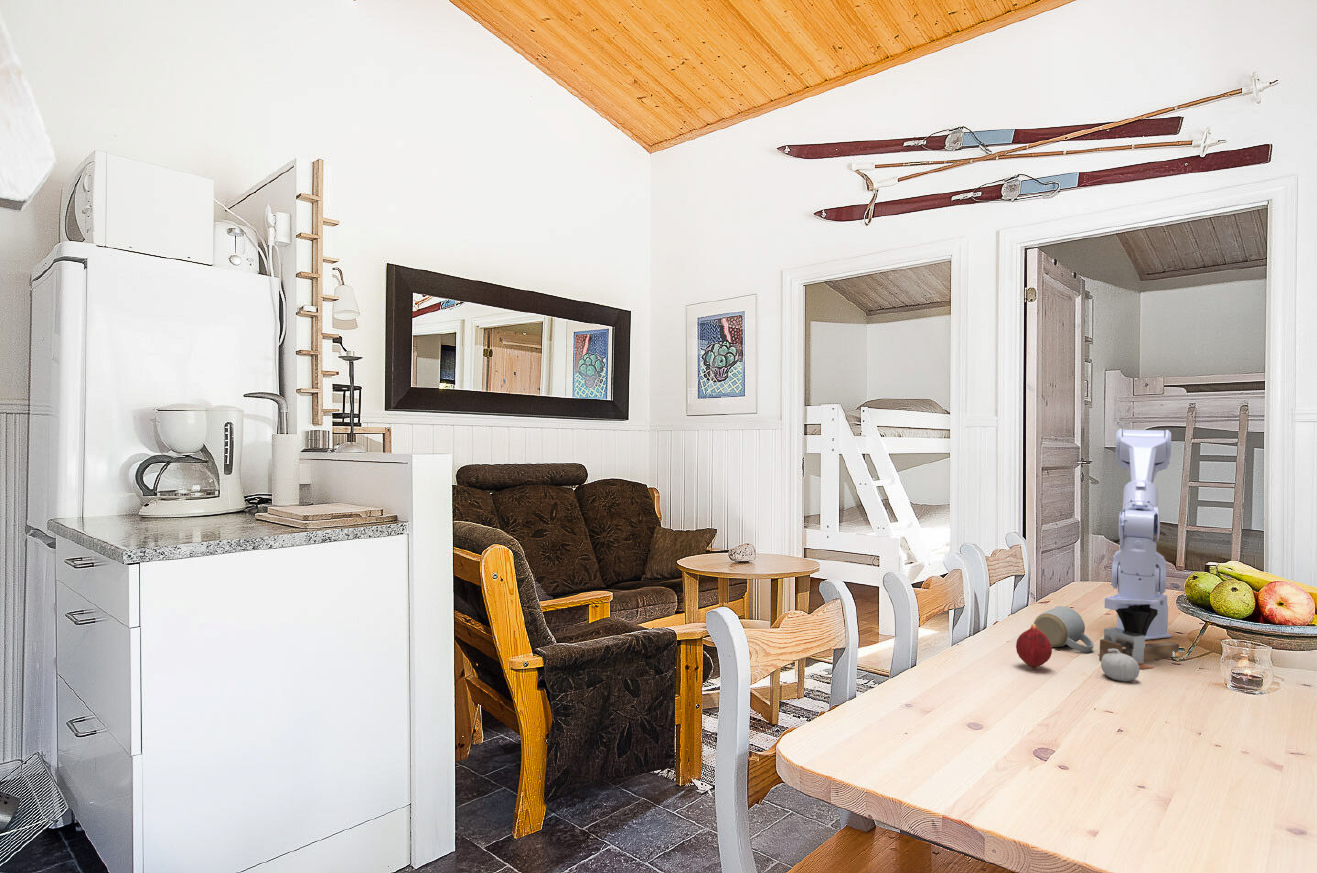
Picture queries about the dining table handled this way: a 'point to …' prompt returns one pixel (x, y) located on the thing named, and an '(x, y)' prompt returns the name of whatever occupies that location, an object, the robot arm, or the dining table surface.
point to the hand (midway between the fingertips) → (1134, 645)
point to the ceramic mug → (1064, 628)
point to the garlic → (1119, 666)
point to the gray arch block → (1127, 642)
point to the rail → (1150, 651)
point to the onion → (1033, 647)
